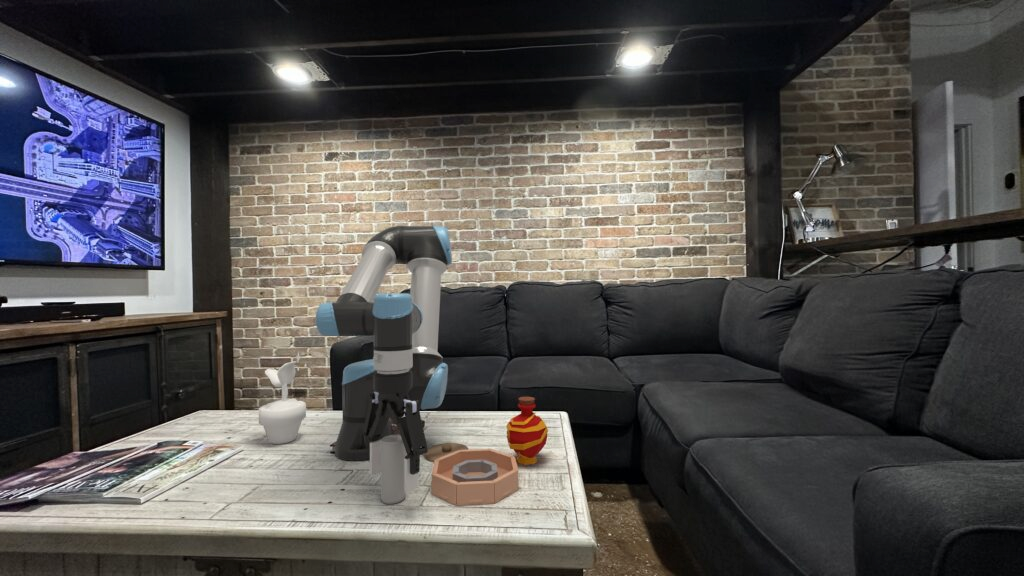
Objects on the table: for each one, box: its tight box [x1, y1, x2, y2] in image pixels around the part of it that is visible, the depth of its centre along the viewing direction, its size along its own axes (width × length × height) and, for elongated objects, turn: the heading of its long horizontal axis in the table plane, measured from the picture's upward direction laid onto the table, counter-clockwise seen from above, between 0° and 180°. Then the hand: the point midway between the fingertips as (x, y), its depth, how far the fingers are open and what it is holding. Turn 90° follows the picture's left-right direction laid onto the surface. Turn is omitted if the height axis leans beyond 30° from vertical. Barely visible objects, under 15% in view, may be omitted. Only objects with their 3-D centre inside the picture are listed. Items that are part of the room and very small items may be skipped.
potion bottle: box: [506, 396, 549, 466], centre depth 102 cm, size 10×10×15 cm
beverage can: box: [380, 434, 407, 505], centre depth 83 cm, size 5×5×12 cm
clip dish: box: [431, 448, 519, 506], centre depth 89 cm, size 18×18×4 cm
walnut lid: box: [424, 442, 470, 464], centre depth 105 cm, size 11×11×3 cm
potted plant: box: [258, 351, 308, 445], centre depth 116 cm, size 13×12×25 cm
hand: (393, 480), depth 83 cm, fingers open, 11 cm apart
